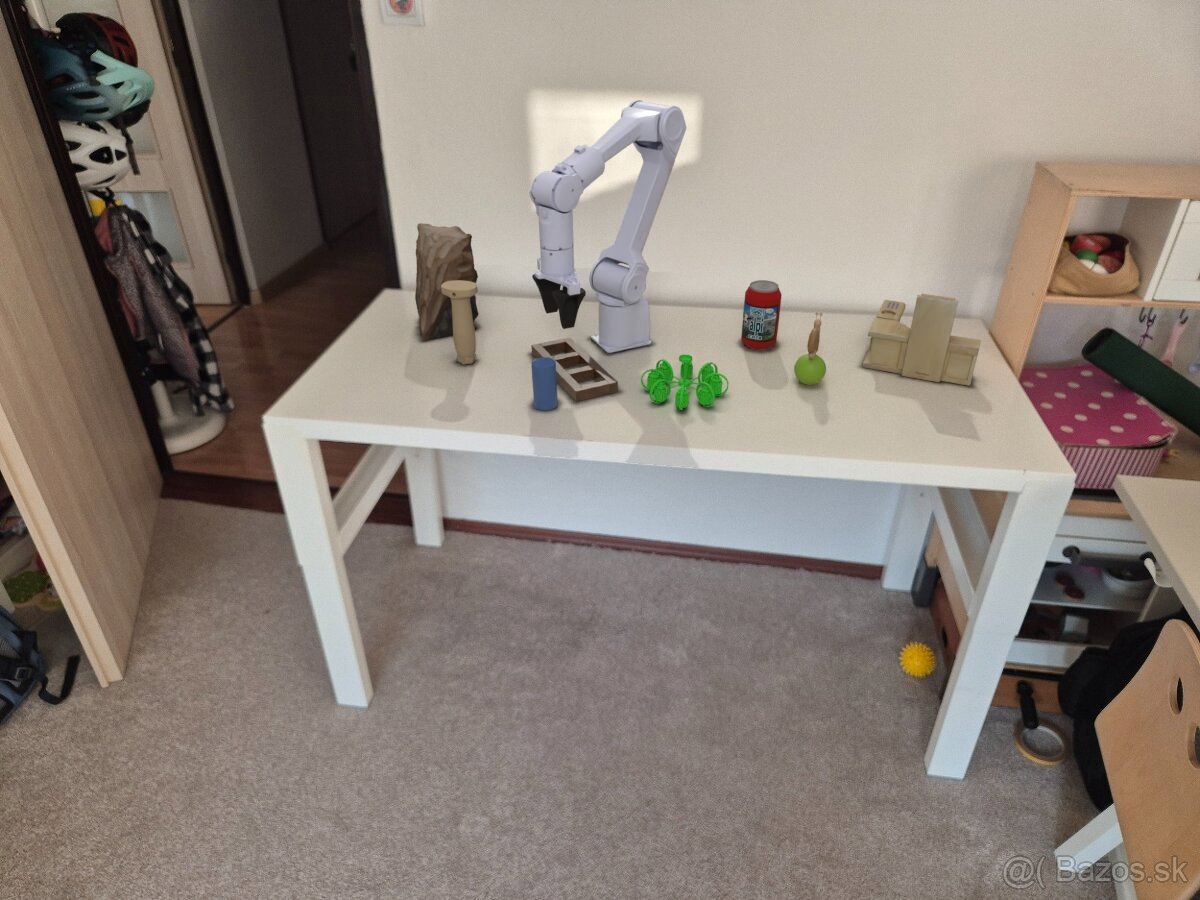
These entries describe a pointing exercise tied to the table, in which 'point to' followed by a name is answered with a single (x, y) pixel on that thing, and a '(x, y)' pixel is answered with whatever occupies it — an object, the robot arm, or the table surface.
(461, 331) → the handle
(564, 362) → the peg board
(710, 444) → the table surface
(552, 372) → the peg
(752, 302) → the beverage can
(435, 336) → the brown rock
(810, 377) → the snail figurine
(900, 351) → the toy kitchen set
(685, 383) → the chandelier
